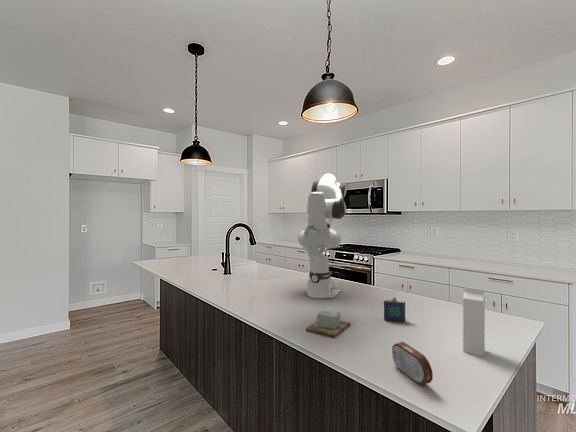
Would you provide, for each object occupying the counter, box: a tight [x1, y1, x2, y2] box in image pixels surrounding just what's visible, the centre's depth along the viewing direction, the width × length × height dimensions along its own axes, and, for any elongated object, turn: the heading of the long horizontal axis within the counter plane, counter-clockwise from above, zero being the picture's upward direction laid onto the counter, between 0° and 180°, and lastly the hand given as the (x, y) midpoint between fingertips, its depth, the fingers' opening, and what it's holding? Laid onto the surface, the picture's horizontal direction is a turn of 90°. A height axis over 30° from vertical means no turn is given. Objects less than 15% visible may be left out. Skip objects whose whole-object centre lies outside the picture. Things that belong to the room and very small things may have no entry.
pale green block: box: [316, 309, 341, 329], centre depth 126 cm, size 6×8×5 cm
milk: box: [462, 287, 486, 357], centre depth 104 cm, size 6×6×22 cm
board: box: [305, 319, 351, 339], centre depth 126 cm, size 16×13×1 cm
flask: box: [383, 296, 407, 323], centre depth 134 cm, size 9×3×11 cm, turn 74°
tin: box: [391, 341, 434, 386], centre depth 88 cm, size 15×3×8 cm, turn 17°
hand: (317, 254), depth 142 cm, fingers open, 8 cm apart
